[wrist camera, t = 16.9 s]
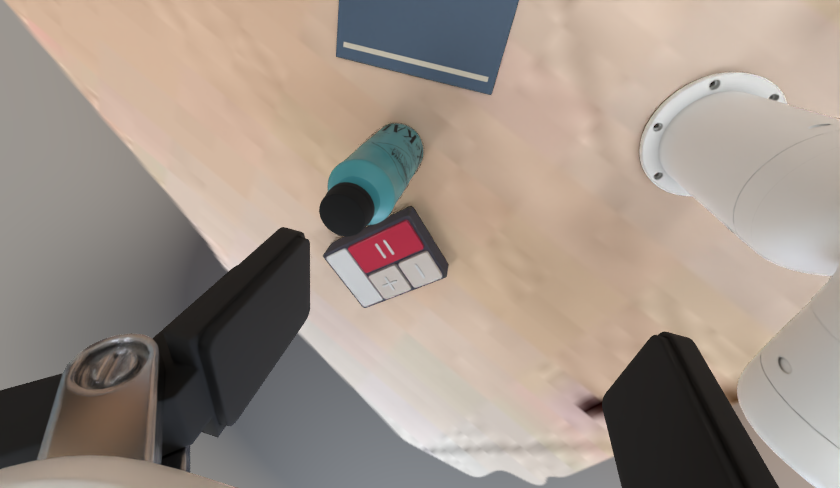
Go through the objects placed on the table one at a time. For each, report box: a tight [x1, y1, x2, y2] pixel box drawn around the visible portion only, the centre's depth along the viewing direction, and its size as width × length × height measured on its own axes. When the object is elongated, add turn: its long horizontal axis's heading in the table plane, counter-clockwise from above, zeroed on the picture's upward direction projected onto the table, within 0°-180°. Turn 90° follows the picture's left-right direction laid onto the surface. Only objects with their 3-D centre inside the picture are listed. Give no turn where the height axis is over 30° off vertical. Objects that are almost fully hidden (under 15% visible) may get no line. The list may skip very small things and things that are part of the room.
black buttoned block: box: [323, 206, 448, 308], centre depth 51 cm, size 11×4×15 cm
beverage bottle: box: [319, 123, 424, 237], centre depth 35 cm, size 6×7×20 cm
